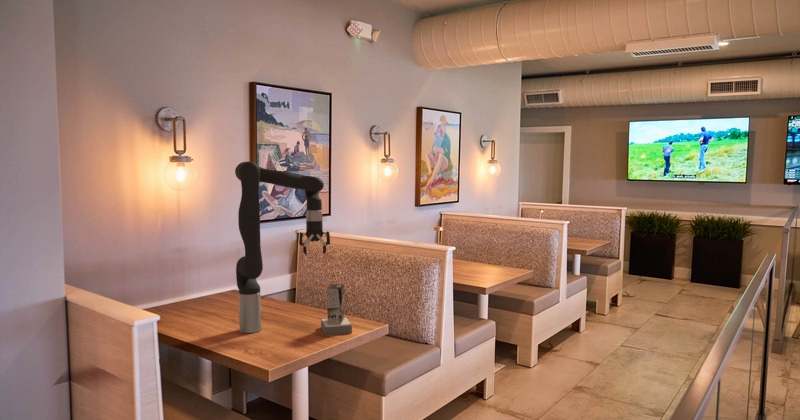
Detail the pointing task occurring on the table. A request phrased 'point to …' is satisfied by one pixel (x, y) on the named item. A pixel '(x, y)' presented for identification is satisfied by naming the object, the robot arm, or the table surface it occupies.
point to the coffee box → (335, 303)
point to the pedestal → (336, 327)
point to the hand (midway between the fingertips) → (314, 253)
